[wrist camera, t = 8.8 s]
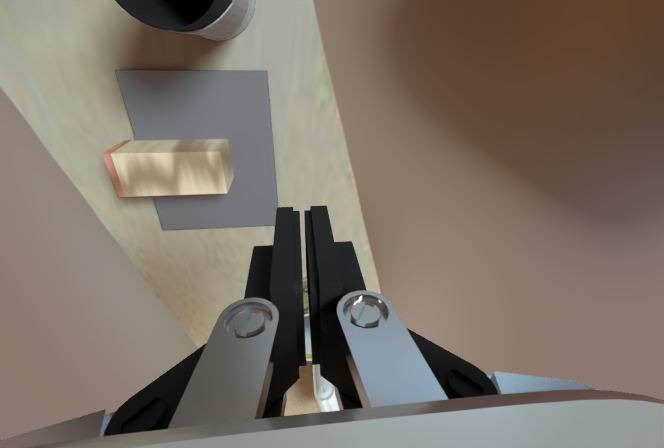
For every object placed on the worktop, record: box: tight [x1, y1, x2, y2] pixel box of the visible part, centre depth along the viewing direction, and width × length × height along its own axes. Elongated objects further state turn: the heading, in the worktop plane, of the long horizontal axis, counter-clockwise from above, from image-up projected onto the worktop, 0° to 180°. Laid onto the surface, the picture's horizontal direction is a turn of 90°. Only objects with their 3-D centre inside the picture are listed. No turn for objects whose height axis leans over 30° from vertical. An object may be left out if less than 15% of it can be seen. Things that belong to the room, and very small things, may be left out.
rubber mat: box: [115, 70, 278, 230], centre depth 40 cm, size 20×16×1 cm
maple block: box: [103, 139, 234, 197], centre depth 37 cm, size 5×5×12 cm
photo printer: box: [312, 364, 339, 412], centre depth 57 cm, size 10×4×12 cm, turn 15°
